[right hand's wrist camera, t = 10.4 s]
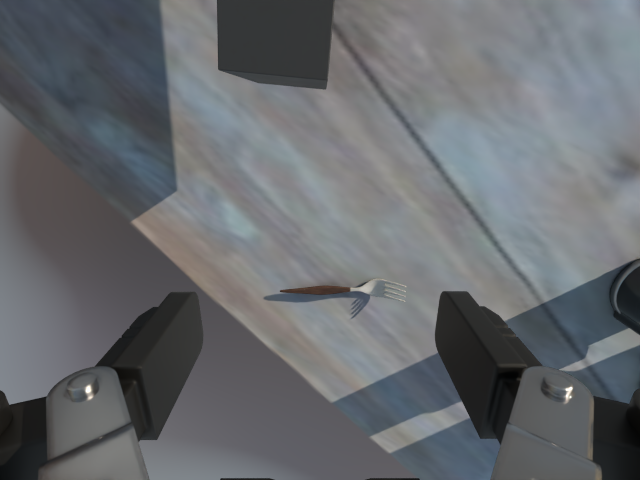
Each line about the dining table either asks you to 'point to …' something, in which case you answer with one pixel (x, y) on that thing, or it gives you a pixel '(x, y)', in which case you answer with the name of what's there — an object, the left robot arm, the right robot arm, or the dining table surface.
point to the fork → (352, 289)
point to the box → (276, 40)
